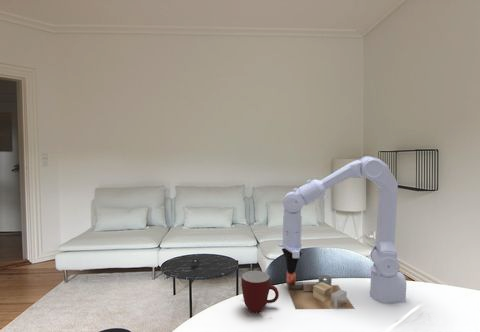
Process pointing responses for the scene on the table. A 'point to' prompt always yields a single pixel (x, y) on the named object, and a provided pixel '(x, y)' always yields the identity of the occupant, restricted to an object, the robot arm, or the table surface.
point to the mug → (257, 290)
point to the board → (314, 300)
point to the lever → (305, 285)
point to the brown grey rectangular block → (338, 299)
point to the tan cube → (322, 291)
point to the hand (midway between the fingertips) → (290, 272)
